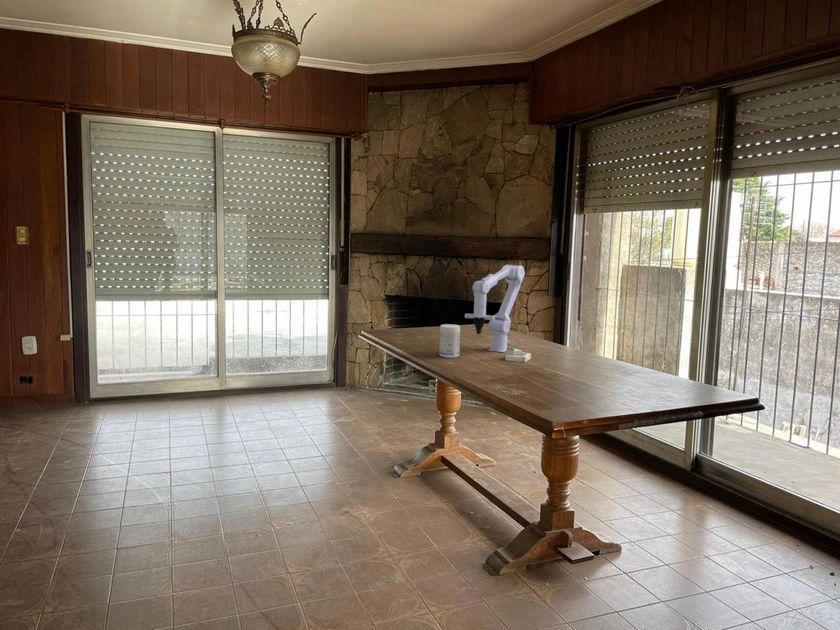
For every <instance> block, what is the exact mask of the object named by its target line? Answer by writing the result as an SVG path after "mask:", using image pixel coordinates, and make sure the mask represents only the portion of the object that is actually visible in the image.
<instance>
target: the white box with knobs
mask: <svg viewBox="0 0 840 630" xmlns="http://www.w3.org/2000/svg"><path fill="white" fill-rule="evenodd" d="M505 352H506V353H505V358H506V355H513V356H522V352H523V350H521V349H517V348H514V347H511V346H507V349H506V351H505Z"/></svg>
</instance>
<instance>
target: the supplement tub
mask: <svg viewBox="0 0 840 630" xmlns="http://www.w3.org/2000/svg"><path fill="white" fill-rule="evenodd" d="M460 341H461V326H460V324H459V325H458V324H453V323H452V324H450V323H449V324H448V323H445V324H440V327H439V353H438V355H439V356H440V357H441V358H446V359H454V358H458V357H459V356H460V347H461V346H460V344H461V342H460Z"/></svg>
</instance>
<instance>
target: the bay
mask: <svg viewBox="0 0 840 630" xmlns="http://www.w3.org/2000/svg"><path fill="white" fill-rule="evenodd" d="M505 355H506V354H505ZM531 358H532V353H531V352H523V351H522V356H513V355H506V357H505V361H508V362H518V363H527V362H528V361H529V360H531Z"/></svg>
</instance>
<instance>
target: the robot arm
mask: <svg viewBox="0 0 840 630" xmlns="http://www.w3.org/2000/svg"><path fill="white" fill-rule="evenodd" d="M525 274H526V273H525V269H524V267H523V265H511V264H505V265H504V266H502V268H501V269H500V270H498V271H497V272H496V273H494V274H491V273H489V274H487V276H486V277H484V278H483V277H482V278H481V280H476V281H475V282H474V283H473V284H472V287H471V289H472V292H473V296H474V298H473V299H474V302H473V313H465V314H464V319H472V322H473V324H474V327H475V330H476V335H481V334H482V330H483V326H484V325H485V323H486V322H487V321H489V322H488V329H489V331H490V333H491V343H490V345H491V346H490V348H489V349H488V352H497V353H505V352H506V349H507V347H508V336H507V335H508V333H509V332H510V330H511V323H512V320H511V318H510V317H509V316H510V313H511V311H512V309H513V306H514V303H515V301H516V298H517V295H518V294H519V291H520V288H521V286H522V285H521V284H522V283H523V280H524V277H525ZM503 279H505V281H506V283H507V284H508V287H507V290H506V293H505V295H504V298H503V299H502V303H501V305H500V308H499V310H498V312H497V313H496V314H494V315H489V314H488V315H487V294H488V293H489V292H490V289H492V288H493V287H495V286H497V284H498V281H500V280H503Z"/></svg>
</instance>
